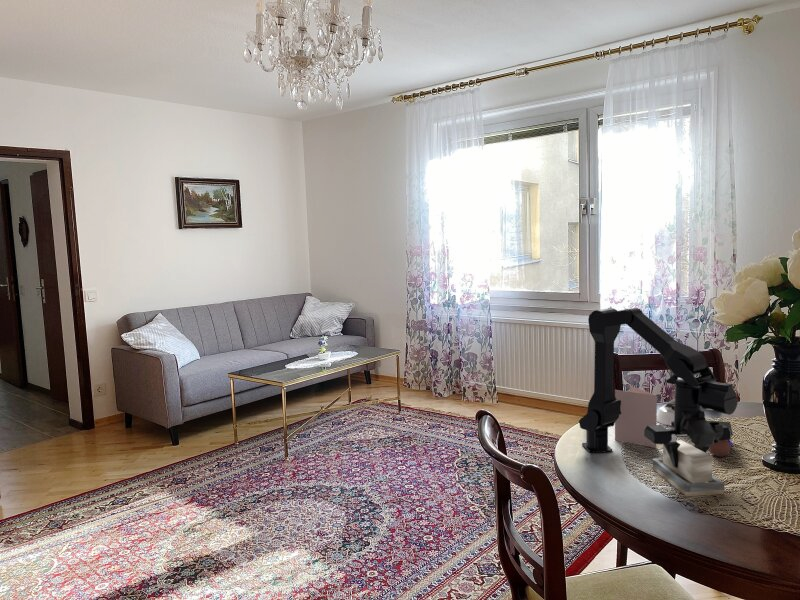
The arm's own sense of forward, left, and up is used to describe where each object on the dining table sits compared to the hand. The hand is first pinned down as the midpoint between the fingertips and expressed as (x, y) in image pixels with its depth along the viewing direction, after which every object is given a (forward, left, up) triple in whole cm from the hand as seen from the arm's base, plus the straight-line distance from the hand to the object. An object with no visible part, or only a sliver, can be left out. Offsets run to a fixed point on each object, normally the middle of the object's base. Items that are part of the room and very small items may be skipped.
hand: (686, 466), depth 142 cm
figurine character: (-18, +19, -4) cm, 26 cm away
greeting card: (-26, -1, -4) cm, 26 cm away
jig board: (0, 0, -4) cm, 4 cm away
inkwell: (-37, +18, -4) cm, 41 cm away
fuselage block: (0, 0, -2) cm, 2 cm away
